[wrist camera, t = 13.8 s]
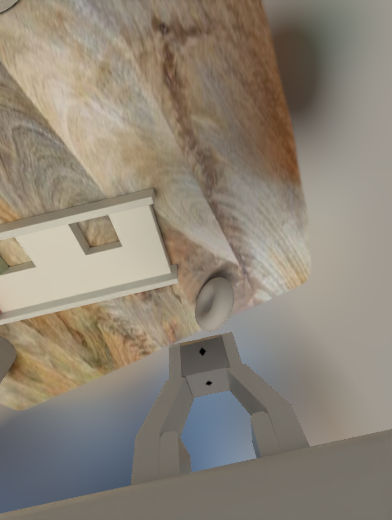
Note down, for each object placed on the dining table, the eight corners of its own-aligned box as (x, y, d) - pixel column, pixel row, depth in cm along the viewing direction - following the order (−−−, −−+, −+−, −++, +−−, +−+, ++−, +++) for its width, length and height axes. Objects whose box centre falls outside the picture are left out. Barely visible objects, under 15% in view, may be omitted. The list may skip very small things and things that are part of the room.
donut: (215, 264, 41) (227, 300, 33) (229, 270, 43) (245, 307, 34) (189, 300, 46) (194, 340, 37) (203, 305, 47) (211, 345, 38)
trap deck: (-92, 246, 33) (-125, 262, 29) (153, 188, 33) (151, 196, 29) (-20, 314, 41) (-39, 333, 37) (177, 268, 41) (178, 283, 37)
